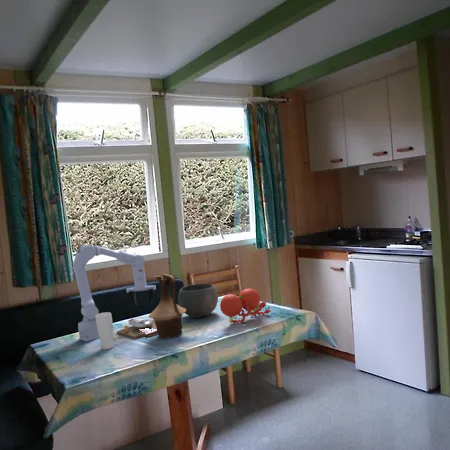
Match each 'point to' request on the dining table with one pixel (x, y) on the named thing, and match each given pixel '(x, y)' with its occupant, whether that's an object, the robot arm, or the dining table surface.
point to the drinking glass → (105, 330)
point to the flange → (140, 323)
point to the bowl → (198, 299)
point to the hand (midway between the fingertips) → (143, 304)
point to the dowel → (126, 329)
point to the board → (135, 331)
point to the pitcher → (167, 310)
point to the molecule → (242, 305)
